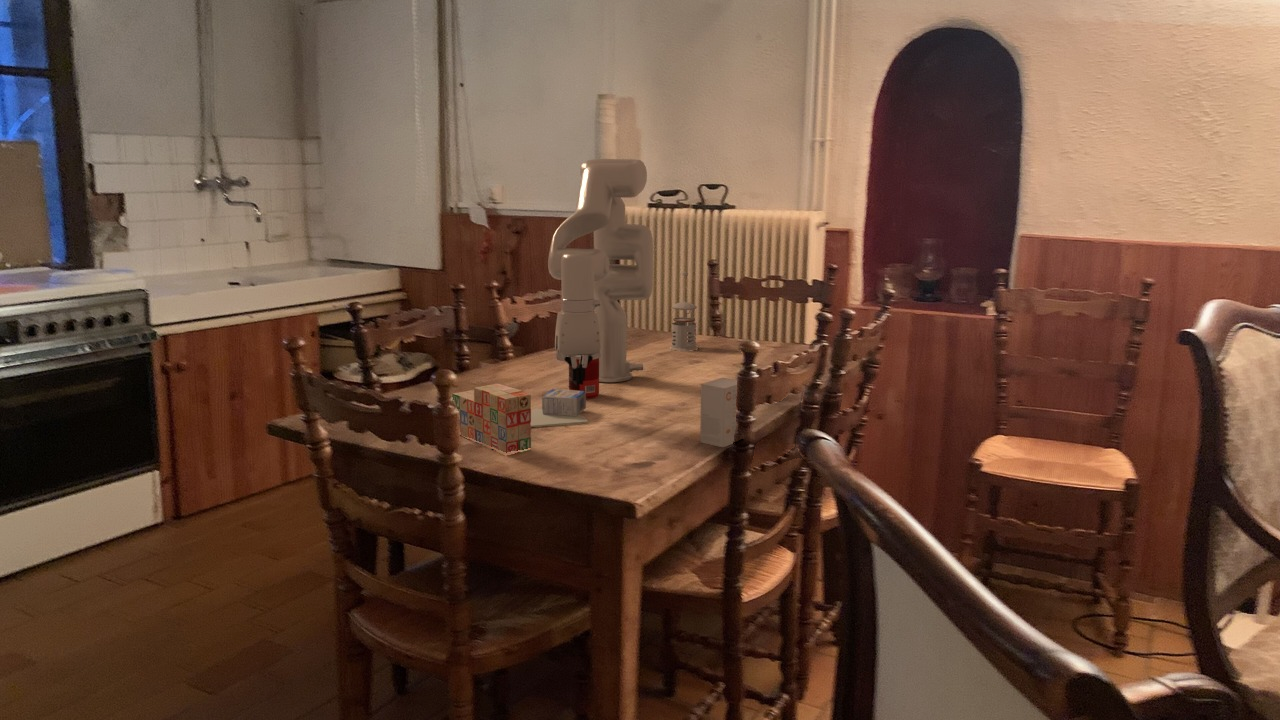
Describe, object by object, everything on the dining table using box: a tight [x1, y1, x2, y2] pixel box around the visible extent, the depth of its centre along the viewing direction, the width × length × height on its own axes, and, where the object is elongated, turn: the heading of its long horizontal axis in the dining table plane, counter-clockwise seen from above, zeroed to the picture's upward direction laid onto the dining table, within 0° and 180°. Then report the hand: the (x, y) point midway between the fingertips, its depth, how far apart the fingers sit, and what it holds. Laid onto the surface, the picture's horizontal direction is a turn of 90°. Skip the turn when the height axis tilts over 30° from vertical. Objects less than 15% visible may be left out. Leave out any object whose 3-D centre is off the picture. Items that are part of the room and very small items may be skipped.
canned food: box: [568, 355, 600, 400], centre depth 242 cm, size 8×8×11 cm
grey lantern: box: [669, 271, 699, 352], centre depth 305 cm, size 10×12×25 cm
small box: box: [699, 377, 738, 448], centre depth 202 cm, size 8×6×13 cm
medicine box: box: [541, 388, 587, 416], centre depth 225 cm, size 8×4×9 cm
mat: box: [531, 408, 589, 428], centre depth 220 cm, size 18×14×1 cm
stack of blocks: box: [451, 383, 532, 453], centre depth 201 cm, size 21×6×12 cm, turn 41°
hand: (578, 383), depth 222 cm, fingers closed
